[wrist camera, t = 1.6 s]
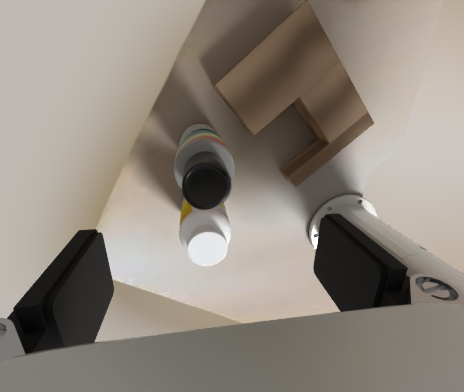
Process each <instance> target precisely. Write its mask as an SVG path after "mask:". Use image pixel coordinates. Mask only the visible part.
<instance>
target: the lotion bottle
mask: <svg viewBox="0 0 464 392" xmlns="http://www.w3.org/2000/svg"><path fill="white" fill-rule="evenodd" d="M234 172H235V166H234V161H233V158H232V156H231V154H230V152H229V150H228V149H227V147H226V146H225V144H224V143H223V141H222V140H221V138H220V137H219V135H218V134H217V132H216V131H215V130H214V129H213V128H211V127H210V126H208V125H205V124H194V125H192V126H190V127H188V128H187V129H186V130H185V131H184V133H183V134H182V137H181V140H180V143H179V146H178V150H177V153H176V157H175V161H174V176H175V179H176V181H177V183H178V185H179V186H180V188H181V189H182V192H183V195H184V197H185V199H186V201H187V202H188V203H189V204H190V205H191V206H193V207H194V208H196V209H199V210H211V209H214V208H216V207H218V206H220V205H221V204H223V203H224V202H225V201H226V199H227V198H228V197H229V195H230V193H231V189H232V180H233V177H234Z"/></svg>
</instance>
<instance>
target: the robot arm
mask: <svg viewBox="0 0 464 392" xmlns="http://www.w3.org/2000/svg"><path fill="white" fill-rule="evenodd" d="M309 237H310V241H311V244H312V245H313V247H314V248H315V249H316V253H315V260H314V273H315V275H316V277H317V278H318V280H319V281H320V282H321V284H322V285H323V287H324V288H325V290H326V291H327V293H328V294H329V295H330V297H331V298H332V300H333V301H334V303H335V304H336V306H337V307H338V308H339V310H340V311H341V312H334V313H326V314H317V315H309V316H301V317H293V318H285V319H277V320H269V321H261V322H253V323H245V324H237V325H229V326H221V327H212V328H204V329H196V330H188V331H180V332H172V333H164V334H157V335H149V336H141V337H134V338H126V339H118V340H111V341H103V342H94V341H95V339H96V336H97V333H98V331H99V329H100V326H101V324H102V321H103V319H104V316H105V314H106V311H107V309H108V306H109V304H110V301H111V298H112V296H113V292H114V286H113V281H112V276H111V271H110V267H109V262H108V258H107V253H106V248H105V244H104V239H103V235H102V233H101V232H100V233H98V232H97V230H96V229H93V230H79V231H78V232H77V233H76V234H75V236H74V237H73V238H72V239H71V240H70V242H69V243H68V244H67V245H66V246H65V248H64V249H63V250H62V251H61V252H60V253H59V255H58V256H57V257H56V258H55V259H54V261H53V262H52V263H51V264H50V265H49V266H48V268H47V269H46V270H45V271H44V272H43V274H42V275H41V276H40V277H39V279H38V280H37V281H36V282H35V283H34V284H33V286H32V287H31V288H30V289H29V290H28V291H27V293H26V294H25V295H24V296H23V297H22V298H21V300H20V301H19V302H18V303H17V304H16V306H15V307H14V308H13V309H14V311H13V312H12V313H11V314H10V315H9V317H8V318H7V319H5V318H0V392H464V273H462V272H460V271H459V270H457V269H455V268H454V267H452V266H451V265H449V264H448V263H446V262H445V261H443V260H442V259H440V258H438V257H437V256H435V255H433V254H432V253H430V252H429V251H427V250H426V249H424V248H423V247H421V246H420V245H418V244H417V243H415V242H414V241H412V240H411V239H409V238H407V237H406V236H405V235H403V234H402V233H400V232H398V231H397V230H395V229H394V228H392V227H391V226H389V225H388V224H386V223H384V222H383V221H382V220H380V219H379V218H377V213H376V210H375V208H374V206H373V205H372V204H371V203H370V202H369V201H368V200H366V199H365V198H363V197H361V196H358V195H351V194H348V195H341V196H338V197H335V198H333V199H331V200H329V201H328V202H326V203H325V204H324V205H323V206H322V207H321V208H320V209H319V210H318V211H317V212H316V214H315V215H314V217H313V219H312V221H311V224H310V228H309Z"/></svg>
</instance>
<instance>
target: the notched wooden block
mask: <svg viewBox="0 0 464 392" xmlns="http://www.w3.org/2000/svg"><path fill="white" fill-rule="evenodd" d="M213 87H214V88H215V90H216V91H217V92H218V93H219V95H220V96H221V97H222V98H223V100H224V101H225V102H226V103H227V105H228V106H229V107H230V109H231V110H232V111H233V112H234V114H235V115H236V116H237V117H238V119H239V120H240V121H241V122H242V124H243V125H244V126H245V127H246V129H247V130H248V131H249V132H250V133H252V134H253V135H256V134H257V133H258V132H260V131H261V130H262V129H263V128H264V127H265V126H267V125H268V124H269V123H270V122H271V121H272V120H273V119H275V118H276V117H277V116H278V115H279V114H280V113H281V112H283V111H284V110H285V109H286V108H287V107H288V106H289V105H291V104H292V103H293V104H294V105H295V107H296V108H297V110H298V111H299V113H300V114H301V116H302V117H303V119H304V120H305V122H306V123H307V125H308V126H309V128H310V129H311V131H312V132H313V134H314V135H315V137H316V138H317V139H316V140H315V141H314V142H313V143H312V144H310V145H309V146H308V147H307V148H306V149H304V150H303V151H302V152H301V153H300V154H298V155H297V156H296V157H295V158H294V159H292V160H291V161H290V162H289V163H288V164H286V165H285V166H284V167H283V168H282V169H280V172H281V173H282V174H283V175H284V177H285V178H286V179H287V180H288V181H289V182H290V183H291V184H293V185H294V186H295V187H296V186H298V185H299V184H300V183H301V182H303V181H304V180H305V179H306V178H308V177H309V176H310V175H311V174H312V173H314V172H315V171H316V170H317V169H319V168H320V167H321V166H322V165H324V164H325V163H326V162H327V161H328V160H330V159H331V158H332V157H333V156H335V155H336V154H337V153H338V152H340V151H341V150H342V149H343V148H344V147H346V146H347V145H348V144H349V143H351V142H352V141H353V140H354V139H356V138H357V137H358V136H359V135H360V134H362V133H363V132H364V131H365V130H367V129H368V128H369V127H370V126H372V125H373V124H374V122H373V120H372V118H371V116H370V115H369V113H368V111H367V109H366V107H365V105H364V104H363V102H362V100H361V98H360V96H359V94H358V93H357V91H356V89H355V87H354V85H353V83H352V82H351V80H350V78H349V76H348V74H347V72H346V71H345V69H344V67H343V65H342V63H341V61H340V60H339V58H338V56H337V54H336V52H335V50H334V49H333V47H332V45H331V43H330V41H329V39H328V38H327V36H326V34H325V32H324V30H323V28H322V27H321V25H320V23H319V21H318V19H317V17H316V16H315V14H314V12H313V10H312V8H311V6H310V5H309V3H308V1H307V0H306V1H305V2H304V3H303V4H302V5H301V6H299V7H298V8H297V9H296V10H295V11H294V12H292V13H291V14H290V15H289V16H288V17H287V18H286V19H285V20H284V21H283V22H282V23H281V24H280V25H279V26H277V27H276V28H275V29H274V30H273V31H272V32H271V33H270V34H269V35H268V36H267V37H266V38H265V39H264V40H262V41H261V42H260V43H259V44H258V45H257V46H256V47H255V48H254V49H253V50H252V51H251V52H250V53H248V54H247V55H246V56H245V57H244V58H243V59H242V60H241V61H240V62H239V63H238V64H237V65H236V66H235V67H233V68H232V69H231V70H230V71H229V72H228V73H227V74H226V75H225V76H224V77H223V78H222V79H221V80H220V81H218V82H217V83H216V84H215V85H214V86H213Z"/></svg>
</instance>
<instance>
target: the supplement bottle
mask: <svg viewBox="0 0 464 392" xmlns="http://www.w3.org/2000/svg"><path fill="white" fill-rule="evenodd" d="M179 236H180V240H181V243H182V245H183V246H184V248H185V249H186V250H187V253H188V256H189V258H190V259H191V260H192V261H193V262H194V263H196V264H198V265H202V266H210V265H214V264H217V263H218V262H220V261H221V260H222V259H223V258H224V257H225V255H226V253H227V249H228V246H227V245H228V243H229V241H230V238H231V226H230V222H229V219H228V216H227V213H226V209H225V206H224V203H223V204H221V205H220V206H218V207H216V208H214V209H211V210H199V209H196V208H194V207H193V206H191V205H190V204H189V203H188V202H187V201H186V199H185V197H184V199H183V201H182V207H181V219H180V231H179Z"/></svg>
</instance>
